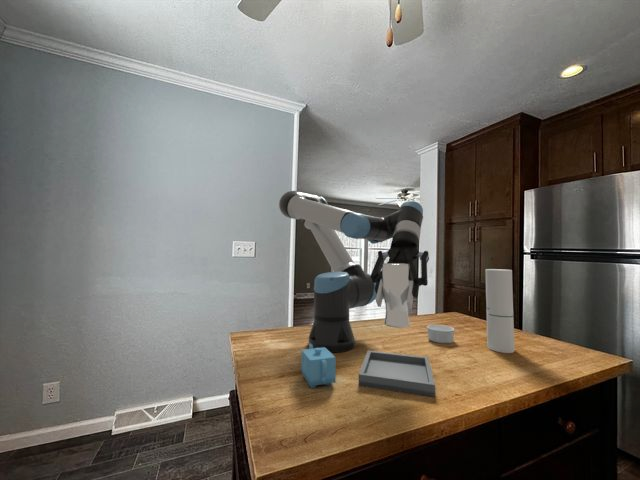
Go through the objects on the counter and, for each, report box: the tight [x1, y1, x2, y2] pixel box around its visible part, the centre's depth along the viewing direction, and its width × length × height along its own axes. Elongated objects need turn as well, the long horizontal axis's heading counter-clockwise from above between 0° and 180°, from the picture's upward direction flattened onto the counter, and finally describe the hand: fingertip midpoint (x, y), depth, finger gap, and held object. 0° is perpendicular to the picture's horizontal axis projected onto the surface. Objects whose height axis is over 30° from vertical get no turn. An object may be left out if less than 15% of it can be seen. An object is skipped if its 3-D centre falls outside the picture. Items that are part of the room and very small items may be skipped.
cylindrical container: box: [484, 268, 515, 354], centre depth 86 cm, size 7×7×25 cm
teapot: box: [300, 342, 337, 388], centre depth 64 cm, size 12×6×8 cm, turn 19°
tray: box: [358, 350, 436, 398], centre depth 66 cm, size 16×16×2 cm
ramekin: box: [426, 324, 455, 344], centre depth 95 cm, size 9×9×4 cm
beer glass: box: [381, 262, 412, 329], centre depth 67 cm, size 7×7×15 cm
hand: (393, 304), depth 64 cm, fingers closed on beer glass, 7 cm apart
